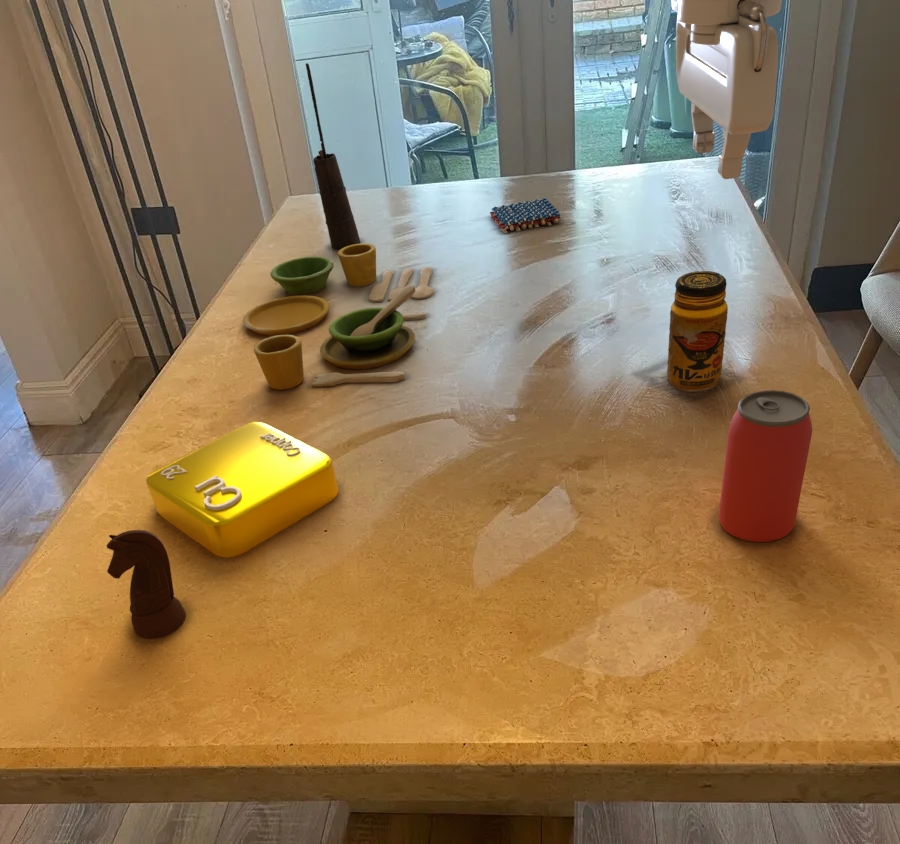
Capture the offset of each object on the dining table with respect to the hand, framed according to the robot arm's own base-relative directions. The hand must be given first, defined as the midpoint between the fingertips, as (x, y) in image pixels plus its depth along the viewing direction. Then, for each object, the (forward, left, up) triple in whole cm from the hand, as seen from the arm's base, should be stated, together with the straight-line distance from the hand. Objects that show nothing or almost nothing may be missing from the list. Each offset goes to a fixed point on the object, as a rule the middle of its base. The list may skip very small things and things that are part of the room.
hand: (715, 163), depth 84 cm
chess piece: (+56, +34, -23) cm, 69 cm away
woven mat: (+14, -64, -23) cm, 70 cm away
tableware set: (+45, -29, -23) cm, 58 cm away
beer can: (+2, +29, -23) cm, 37 cm away
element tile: (+51, +16, -23) cm, 58 cm away
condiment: (+1, 0, -23) cm, 23 cm away
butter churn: (+46, -64, -23) cm, 82 cm away
